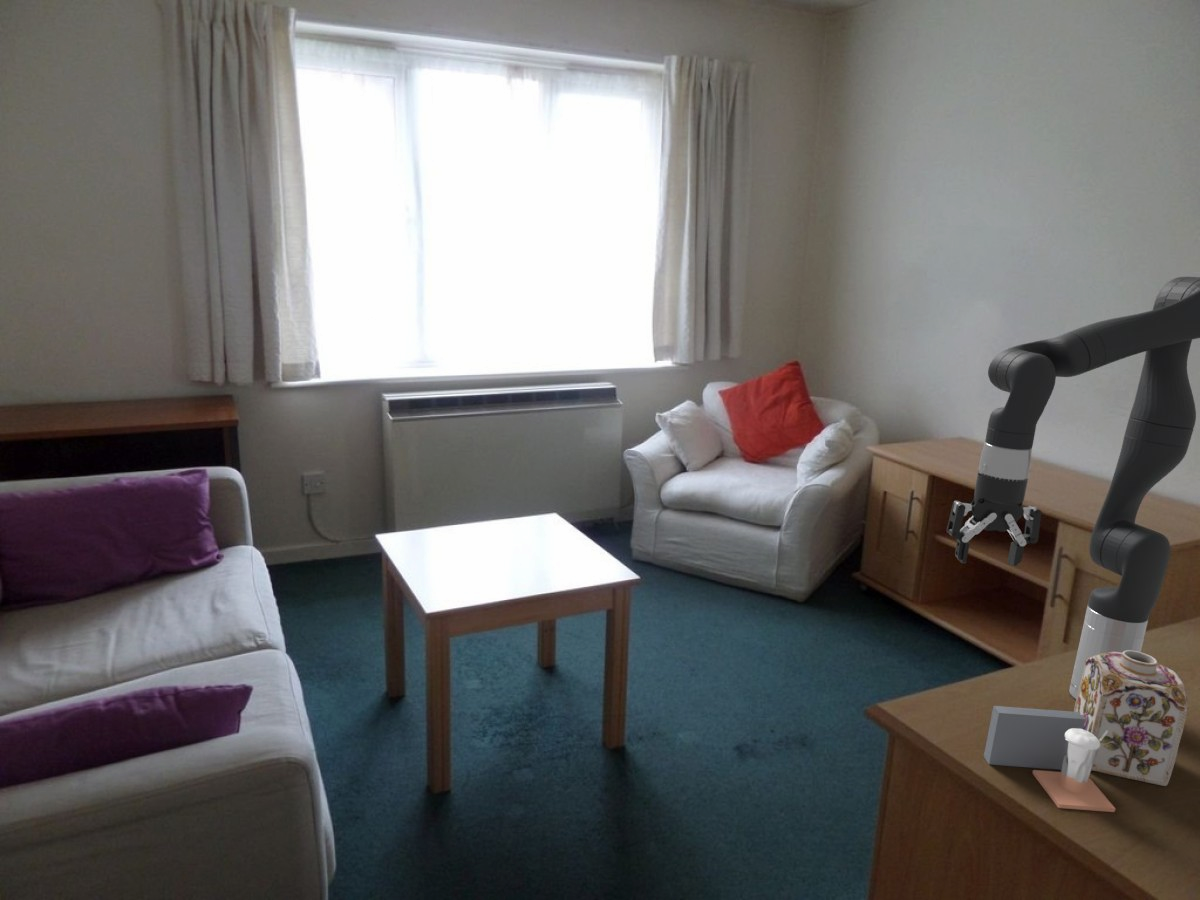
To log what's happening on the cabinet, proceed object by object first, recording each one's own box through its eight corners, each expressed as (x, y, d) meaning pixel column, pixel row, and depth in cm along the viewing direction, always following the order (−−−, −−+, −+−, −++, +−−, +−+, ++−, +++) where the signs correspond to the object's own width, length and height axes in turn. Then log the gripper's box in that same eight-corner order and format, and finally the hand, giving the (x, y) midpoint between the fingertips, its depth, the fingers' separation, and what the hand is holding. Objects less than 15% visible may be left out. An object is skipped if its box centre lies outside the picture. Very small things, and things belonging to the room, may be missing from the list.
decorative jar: (1082, 770, 128) (1106, 665, 124) (1067, 730, 139) (1088, 633, 134) (1171, 789, 124) (1199, 682, 120) (1148, 747, 135) (1173, 647, 131)
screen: (1067, 762, 129) (1078, 712, 127) (1073, 770, 128) (1085, 719, 125) (983, 756, 130) (993, 705, 128) (988, 764, 128) (998, 712, 126)
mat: (1085, 777, 126) (1086, 773, 126) (1114, 812, 118) (1115, 808, 118) (1032, 773, 126) (1033, 769, 126) (1058, 807, 119) (1059, 804, 118)
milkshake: (1099, 800, 120) (1114, 739, 117) (1060, 793, 121) (1073, 733, 118) (1088, 781, 124) (1101, 722, 122) (1050, 775, 125) (1062, 716, 123)
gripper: (1036, 468, 139) (1019, 557, 143) (951, 462, 140) (936, 552, 144) (1058, 480, 132) (1039, 574, 136) (968, 474, 132) (952, 568, 136)
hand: (986, 563), depth 140 cm, fingers open, 8 cm apart
